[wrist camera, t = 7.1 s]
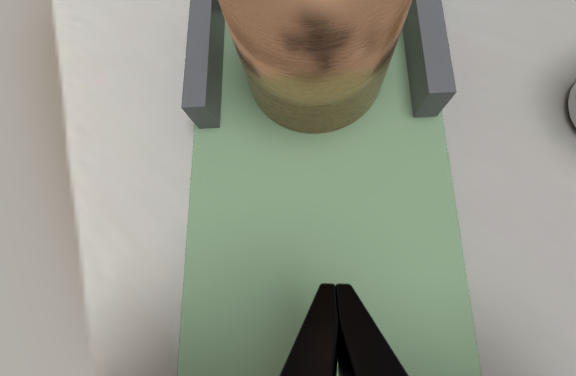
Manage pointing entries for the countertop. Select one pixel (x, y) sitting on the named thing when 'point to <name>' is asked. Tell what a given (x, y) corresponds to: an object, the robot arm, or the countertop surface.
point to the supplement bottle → (572, 104)
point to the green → (322, 233)
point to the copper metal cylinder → (315, 56)
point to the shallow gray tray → (418, 48)
